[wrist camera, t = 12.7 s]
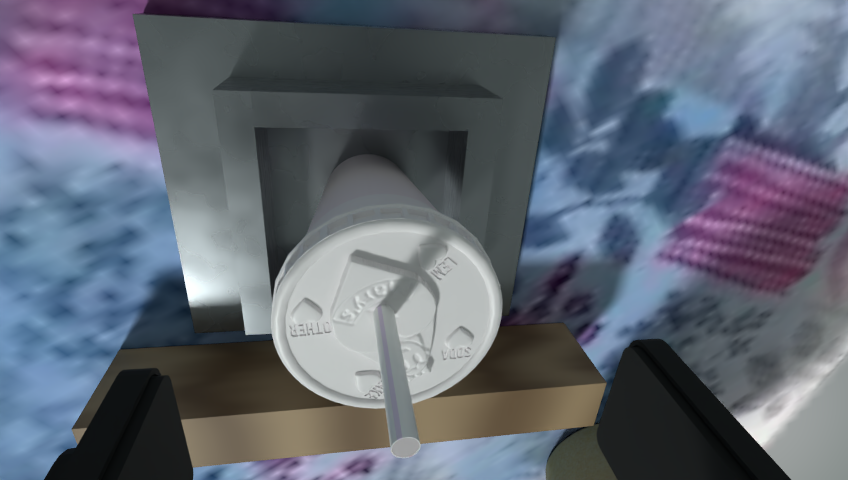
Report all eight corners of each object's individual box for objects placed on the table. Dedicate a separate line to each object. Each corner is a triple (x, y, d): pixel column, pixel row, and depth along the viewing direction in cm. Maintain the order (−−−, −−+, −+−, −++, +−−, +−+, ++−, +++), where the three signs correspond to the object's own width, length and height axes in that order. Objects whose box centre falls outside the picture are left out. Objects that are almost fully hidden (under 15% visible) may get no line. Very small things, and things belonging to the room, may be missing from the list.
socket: (546, 35, 20) (590, 43, 17) (502, 305, 27) (528, 351, 23) (142, 13, 18) (95, 17, 14) (200, 320, 24) (177, 376, 20)
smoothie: (403, 96, 20) (525, 266, 7) (457, 221, 23) (605, 487, 10) (265, 162, 20) (157, 432, 8) (337, 277, 23) (343, 600, 11)
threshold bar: (563, 322, 28) (606, 382, 24) (554, 362, 29) (593, 425, 25) (119, 349, 24) (71, 429, 19) (132, 394, 25) (90, 478, 21)
